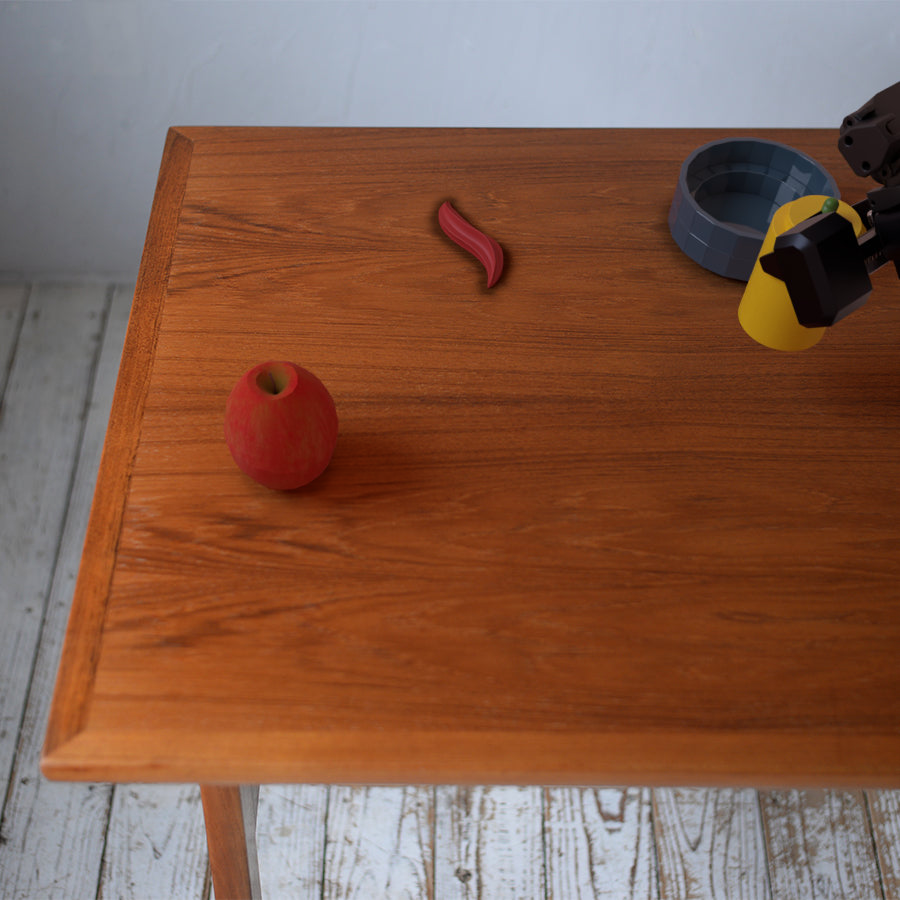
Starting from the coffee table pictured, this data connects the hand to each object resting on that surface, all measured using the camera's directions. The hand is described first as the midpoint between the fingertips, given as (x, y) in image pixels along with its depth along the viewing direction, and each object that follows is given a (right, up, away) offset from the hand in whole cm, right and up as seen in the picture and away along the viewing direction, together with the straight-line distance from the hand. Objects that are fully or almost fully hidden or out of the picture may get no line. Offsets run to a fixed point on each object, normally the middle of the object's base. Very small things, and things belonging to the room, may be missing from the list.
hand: (794, 244), depth 70 cm
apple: (-37, -16, +4) cm, 41 cm away
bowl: (+3, +6, +21) cm, 22 cm away
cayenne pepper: (-23, +4, +19) cm, 30 cm away
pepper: (+1, -5, +5) cm, 7 cm away
